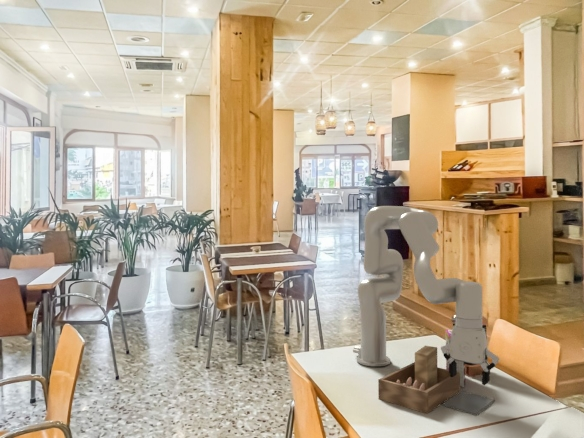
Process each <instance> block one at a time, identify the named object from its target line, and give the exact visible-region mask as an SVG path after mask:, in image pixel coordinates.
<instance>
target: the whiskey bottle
mask: <svg viewBox="0 0 584 438" xmlns="http://www.w3.org/2000/svg"><path fill="white" fill-rule="evenodd" d="M455 316H456V314H453V315H452V316H451V318H452V317H455ZM451 323H452V327H453V326H455V322H454V321H452V320H451ZM487 325H488V318H487V317H486V316H484V315H482V328H483V329H484V330H485V334H486V339H487V340H488V338H487ZM487 362H488V363H489V361H488V360H487ZM489 364H490V363H489ZM482 371H484V370H483V368H482V367H481V365H477V364H472V363H467V362H465V377H468V378H476V377H478V376H482Z"/></svg>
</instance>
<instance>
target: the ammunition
mask: <svg viewBox="0 0 584 438" xmlns="http://www.w3.org/2000/svg"><path fill="white" fill-rule="evenodd" d="M411 382H412V378H411V377H409V378H408V380H407V382H406V384H405V383H403V384H402V383H401V384H402V385H405V386H407V385H408V386H409V387H413V388H416V389H417V387H418V381H417V380H415V381H414V382H413V384H412V383H411ZM396 383H398V384H400V380H397V381H396ZM420 390H425V384H424V383H422V385H421V386H420Z"/></svg>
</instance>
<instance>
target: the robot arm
mask: <svg viewBox="0 0 584 438" xmlns="http://www.w3.org/2000/svg"><path fill="white" fill-rule="evenodd" d="M363 224H364V225H363V226H364V232H365V233H364V236H365V239H364V240H365V241H364V252H363V253H364V254H363V269H364V272H365V273H366V274H368V275H369V276H370V275H371V276H378V277H370V278H366V279H363V280H362V281H361V282H360V283H359V284H358V286H357V297H358V301H359V307H360V308H359V309H360V310H359V313H360V346H357V345H355V346H354V347H353V350H352V352H353V353H354V354H358V356H357V357H356V362H357V363H358V364H360V365H363V366H366V367H367V366H368V367H385V366H388V365H389V364H390V363H391V358H390V357H389V356H387V314H386V311H385V309H384V307H383V305H382V303H389V302H393V301H397V300H398V298H400V296H401V293H402V288H403V277H404V276H403V275H404V259H403V257H402V254H401V253H400V252H399V251H398V250H396V249H393V248H389V249H388V247H389V245H388V244H389V238H388V234H387V232H386V230H400V232H401V234H402V236H403V238H404V240H405V241H406V242H407V244H408V247H409V249H410V250H411V252H412V254H413V256H414V258H415V259H414V264H413V276H414V279H415V282H416V285H417V286H418V289H419V291H420V292H421V294H422V295H423V297H424V298H425V299H426V301H428V302H429V303H430V304H432V305H442V304H448V303H455V315H456V316H455V317H452V316H451V318H450V319H451V320H450V321H451V322H452V321H454V322H455V326H453V325H452V328H451V330H452V333H451V340H450V344H448V345H446V344H445V345H443V346H441V347H440V350H441V353H442V354H443V357H444V358H445V361H446V360H447V362H448V363H449V373H450V377H454V376H455V375H457V363H456V362H455V360H458V361H462V362H467V363H472V364H477V365H481V367H482V368H483V370H484V371H482V375H481V385H483V386H486V385H487V384H488V383H489V382H490V380H491V379H490V378H491V370H492V369H494V368H495V367H496V366H497V364H498V362H499V361H500V357H499V356H498V355H496V354H495V353H493V352H492V351H490V350H489V349H488V338H487V339H486V334H485V330H484V329H483V328H482V316H483V286H482V284H480V283H479V282H476V281H467V280H463V279H459V278H457V277H456V278H455V277H449V278H439V279H438V278H437V277H436V275H435V274H434V272H433V270H432V268H431V267H432V266H431V259H433V257H434V256H436V255H437V253H438V252H439V250H440V246H439V244H438V242H437V241H436V239H435V237H434V234H435V233H436V232H437V231H438V228H439V221H438V219H437V217H436V215H434V214H433V213H432V212H431V211H427V210H423V209H418V208H415V207H412V206H411V207H410V206H404V205H403V206H402V205H401V206H400V205H399V206H398V205H380V206H378V205H377V206H375V207H372V208H371V209H370V210H368V212H367V213H366V215H365V217H364V223H363ZM380 275H381V277H379V276H380ZM447 349H450V354H449V353H448V351H447ZM488 358H489V359H491V360H492V361H491V363H488V362H489V361H488ZM487 361H488V362H487Z"/></svg>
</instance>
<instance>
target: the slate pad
mask: <svg viewBox="0 0 584 438" xmlns="http://www.w3.org/2000/svg"><path fill="white" fill-rule="evenodd" d="M495 401H496V398H494V397H489V396H487V395H482V394H477V393H473V392H470V391H465V390H460V392H458V393H457V394H455V395H454V396H452V397H451V398H449V399H448V400H446V401H445V402H443V403H442V405H443V407H447V408H449V409H453V410H456V411H457V410H458V411H460V412H462V413H463V412H464V413H467V414H471V415H474V416H478V415H480V414H481V413H482V412H483V411H485V410H486V409H487V408H488V407H490V406H491V405H492V404H493V403H494V402H495Z"/></svg>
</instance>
